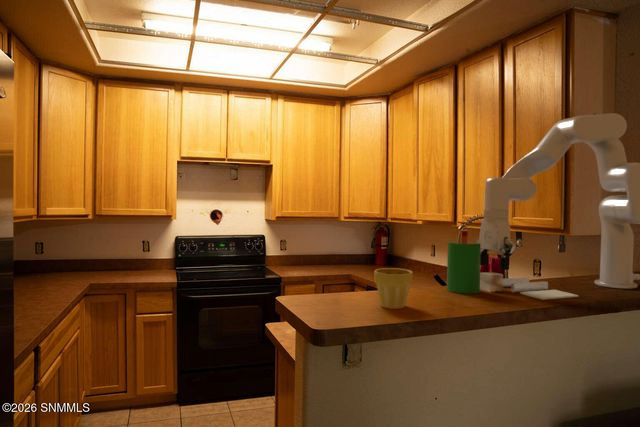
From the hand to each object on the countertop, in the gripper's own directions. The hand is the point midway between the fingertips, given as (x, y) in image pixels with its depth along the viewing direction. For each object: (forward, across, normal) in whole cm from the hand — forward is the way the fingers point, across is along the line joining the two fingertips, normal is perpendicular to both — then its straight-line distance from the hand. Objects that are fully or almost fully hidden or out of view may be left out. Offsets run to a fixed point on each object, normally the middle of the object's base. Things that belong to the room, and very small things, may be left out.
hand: (493, 267), depth 151 cm
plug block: (+7, 0, -1) cm, 8 cm away
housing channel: (+7, 0, +11) cm, 13 cm away
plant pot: (+8, +11, -43) cm, 45 cm away
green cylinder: (+8, -1, -11) cm, 13 cm away
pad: (+7, +12, +11) cm, 18 cm away
